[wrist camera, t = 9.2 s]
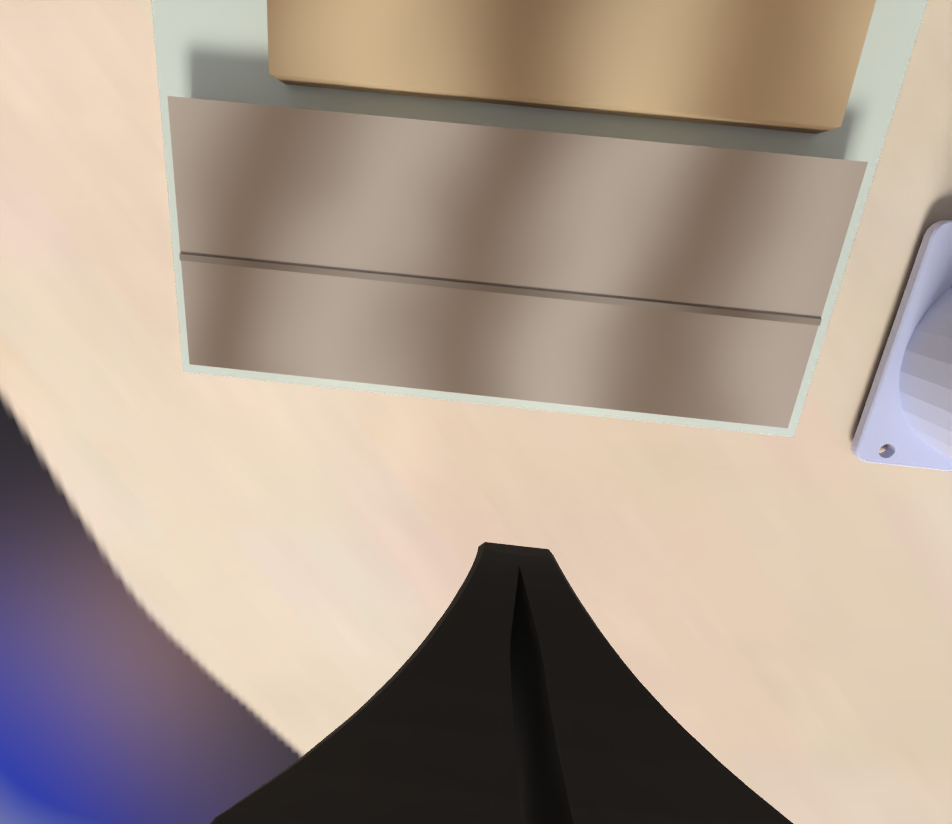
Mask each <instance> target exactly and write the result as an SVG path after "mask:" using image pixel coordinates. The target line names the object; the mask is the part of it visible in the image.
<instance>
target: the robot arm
mask: <svg viewBox="0 0 952 824" xmlns="http://www.w3.org/2000/svg"><path fill="white" fill-rule="evenodd" d="M885 444H888V446H887V449H886V450H885V451H884V452H882V453H879V450H880V448H881V447H882V446H884V445H885ZM851 451H852V453H853V455H855V456H856V457H857V458H858V459H860V460H861V461H865V462H870V463H879V464H889V465H898V466H907V467H916V468H926V469H935V470H944V471H952V220H943V221H938V222H936V223H934V224H932V225H931V226H930V227H929V228H928V229H927V231H926V233H925V235H924V237H923V240H922V243H921V246H920V248H919V251H918V254H917V257H916V260H915V263H914V266H913V269H912V271H911V274H910V277H909V280H908V283H907V286H906V289H905V292H904V295H903V297H902V300H901V303H900V306H899V309H898V312H897V315H896V318H895V321H894V323H893V326H892V329H891V332H890V335H889V338H888V341H887V344H886V347H885V349H884V352H883V355H882V358H881V361H880V364H879V367H878V370H877V373H876V375H875V378H874V381H873V384H872V387H871V390H870V393H869V396H868V398H867V401H866V404H865V407H864V410H863V413H862V416H861V419H860V422H859V424H858V427H857V430H856V433H855V436H854V439H853V442H852V446H851ZM211 824H793V823H792V822H791V821H789V820H788V819H787V818H786V817H784V816H783V815H782V814H781V813H780V812H778V811H777V810H776V809H775V808H773V807H772V806H771V805H770V804H769V803H767V802H766V801H765V800H764V799H762V798H761V797H760V796H759V795H757V794H756V793H755V792H754V791H753V790H751V789H750V788H749V787H748V786H747V785H745V784H744V783H743V782H742V781H741V780H740V779H739V778H737V777H736V776H735V775H734V774H733V773H732V772H731V771H729V770H728V769H727V768H726V767H725V766H724V765H723V764H721V763H720V762H719V761H718V760H717V759H716V758H715V757H714V756H713V755H712V754H711V753H710V752H708V751H707V750H706V749H705V748H704V747H703V746H702V745H701V744H700V743H699V742H698V741H697V740H696V739H695V738H694V737H693V736H691V735H690V734H689V733H688V732H687V731H686V730H685V729H684V728H683V727H682V726H681V725H680V724H679V723H678V722H677V721H676V720H675V719H674V718H673V717H672V716H671V715H670V714H669V713H668V712H667V711H666V710H665V709H664V708H663V707H662V705H661V704H660V703H659V702H658V701H657V700H656V699H655V698H654V697H653V696H652V695H651V693H650V692H649V691H648V690H647V689H646V688H645V687H644V686H643V685H642V684H641V682H640V681H639V680H638V679H637V678H636V677H635V675H634V674H633V673H632V672H631V671H630V669H629V668H628V667H627V666H626V664H625V663H624V662H623V661H622V659H621V658H620V657H619V655H618V654H617V653H616V652H615V650H614V649H613V648H612V646H611V645H610V644H609V642H608V641H607V640H606V638H605V637H604V635H603V634H602V633H601V631H600V630H599V629H598V627H597V626H596V624H595V623H594V621H593V620H592V618H591V617H590V615H589V614H588V612H587V611H586V609H585V608H584V606H583V605H582V603H581V602H580V600H579V599H578V597H577V596H576V594H575V592H574V591H573V589H572V587H571V586H570V584H569V582H568V581H567V579H566V577H565V576H564V574H563V572H562V570H561V569H560V567H559V565H558V563H557V561H556V559H555V558H554V556H553V554H552V553H551V552H550V551H549V549H540V548H532V547H523V546H514V545H505V544H497V543H488V542H485V543H483V544H482V545H480V546H479V547H478V552H477V555H476V558H475V561H474V563H473V565H472V567H471V570H470V571H469V573H468V575H467V577H466V579H465V581H464V583H463V584H462V586H461V588H460V589H459V591H458V593H457V594H456V596H455V598H454V599H453V601H452V602H451V604H450V606H449V607H448V609H447V610H446V611H445V613H444V614H443V616H442V617H441V618H440V620H439V621H438V622H437V624H436V625H435V627H434V628H433V629H432V631H431V632H430V633H429V635H428V636H427V637H426V639H425V640H424V641H423V642H422V644H421V645H420V646H419V647H418V648H417V650H416V651H415V652H414V653H413V654H412V656H411V657H410V658H409V659H408V660H407V661H406V662H405V663H404V665H403V666H402V667H401V668H400V669H399V670H398V671H397V672H396V673H395V674H394V675H393V677H392V678H391V679H390V680H389V681H388V682H387V683H386V684H385V685H384V686H383V687H382V688H381V689H379V690H378V691H377V692H376V693H375V694H374V695H373V696H372V697H371V698H370V699H369V700H368V701H367V702H366V703H365V704H364V705H363V706H362V707H361V708H360V709H359V710H358V711H357V712H355V713H354V714H353V715H352V716H351V717H350V718H349V719H348V720H346V721H345V722H344V723H343V724H342V725H340V726H339V727H338V728H337V729H335V730H334V731H333V732H332V733H331V734H329V735H328V736H327V737H326V738H324V739H323V740H322V741H321V742H320V743H318V744H317V745H316V746H315V747H314V748H312V749H311V750H310V751H309V752H307V753H306V754H305V755H304V756H303V757H301V758H300V759H299V760H297V761H296V762H295V763H293V764H292V765H291V766H289V767H288V768H287V769H285V770H284V771H282V772H281V773H280V774H278V775H277V776H275V777H274V778H272V779H271V780H269V781H268V782H267V783H265V784H264V785H262V786H261V787H259V788H258V789H256V790H255V791H254V792H252V793H251V794H249V795H248V796H246V797H245V798H243V799H242V800H241V801H239V802H238V803H236V804H235V805H233V806H232V807H231V808H229V809H228V810H226V811H224V812H223V813H221V814H220V815H218V816H217V817H216V818H215V819H214V820H213V821H212V823H211Z"/></svg>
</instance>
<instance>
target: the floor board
mask: <svg viewBox="0 0 952 824" xmlns="http://www.w3.org/2000/svg"><path fill="white" fill-rule="evenodd" d="M167 97H168V109H169V121H170V133H171V145H172V158H173V170H174V182H175V194H176V206H177V219H178V231H179V243H180V254H179V257H180V260H181V267H182V280H183V292H184V304H185V316H186V329H187V341H188V353H189V364H191V365H200V366H210V367H219V368H229V369H238V370H247V371H257V372H266V373H275V374H285V375H294V376H303V377H313V378H322V379H331V380H341V381H350V382H359V383H369V384H378V385H387V386H397V387H406V388H415V389H425V390H434V391H443V392H453V393H462V394H471V395H481V396H490V397H500V398H509V399H518V400H528V401H537V402H546V403H556V404H565V405H574V406H584V407H593V408H602V409H612V410H621V411H630V412H640V413H649V414H658V415H668V416H677V417H686V418H696V419H705V420H714V421H724V422H733V423H742V424H752V425H761V426H771V427H780V428H788V426H789V423H790V419H791V416H792V413H793V409H794V406H795V403H796V399H797V396H798V393H799V389H800V386H801V383H802V379H803V376H804V373H805V369H806V366H807V363H808V360H809V356H810V353H811V350H812V346H813V343H814V340H815V336H816V333H817V330H818V326H820V324H821V320H822V319H821V316H822V313H823V310H824V306H825V303H826V300H827V297H828V293H829V290H830V287H831V283H832V280H833V277H834V273H835V270H836V267H837V263H838V260H839V257H840V253H841V250H842V247H843V243H844V240H845V237H846V234H847V230H848V227H849V224H850V220H851V217H852V214H853V210H854V207H855V204H856V200H857V197H858V194H859V190H860V187H861V184H862V180H863V177H864V174H865V171H866V167H867V164H868V162H863V161H852V160H842V159H831V158H821V157H810V156H799V155H789V154H778V153H767V152H757V151H746V150H736V149H725V148H714V147H704V146H693V145H683V144H672V143H661V142H651V141H640V140H630V139H619V138H608V137H598V136H587V135H577V134H566V133H555V132H545V131H534V130H523V129H513V128H502V127H492V126H481V125H470V124H460V123H449V122H439V121H428V120H417V119H407V118H396V117H386V116H375V115H364V114H354V113H343V112H333V111H322V110H311V109H301V108H290V107H280V106H269V105H258V104H248V103H237V102H226V101H216V100H205V99H195V98H184V97H173V96H167Z"/></svg>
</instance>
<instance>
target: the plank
mask: <svg viewBox="0 0 952 824" xmlns="http://www.w3.org/2000/svg"><path fill="white" fill-rule="evenodd" d="M875 3H876V0H267V26H268V64H269V74H270V75H272V76H273V77H275V78H276V79H278V80H279V81H281V82H283V83H284V84H287V85H298V86H309V87H319V88H330V89H341V90H352V91H362V92H373V93H384V94H395V95H405V96H416V97H427V98H437V99H448V100H459V101H470V102H480V103H491V104H502V105H513V106H523V107H534V108H545V109H556V110H566V111H577V112H588V113H598V114H609V115H620V116H631V117H641V118H652V119H663V120H674V121H684V122H695V123H706V124H717V125H727V126H738V127H749V128H759V129H770V130H781V131H792V132H802V133H813V134H819V133H822V132H825V131H828V130H832V129H835V128H838V127H841V125H842V121H843V117H844V114H845V110H846V107H847V103H848V99H849V96H850V92H851V89H852V85H853V82H854V78H855V74H856V71H857V67H858V64H859V60H860V57H861V53H862V49H863V46H864V42H865V39H866V35H867V31H868V28H869V24H870V21H871V17H872V14H873V10H874V6H875Z"/></svg>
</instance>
